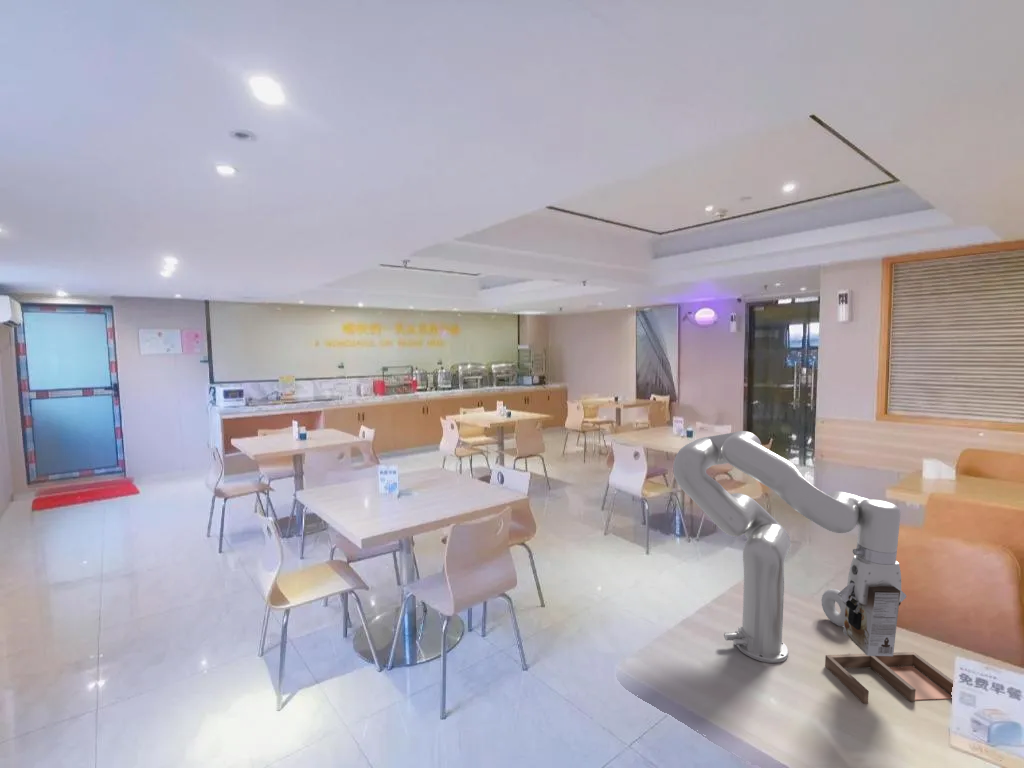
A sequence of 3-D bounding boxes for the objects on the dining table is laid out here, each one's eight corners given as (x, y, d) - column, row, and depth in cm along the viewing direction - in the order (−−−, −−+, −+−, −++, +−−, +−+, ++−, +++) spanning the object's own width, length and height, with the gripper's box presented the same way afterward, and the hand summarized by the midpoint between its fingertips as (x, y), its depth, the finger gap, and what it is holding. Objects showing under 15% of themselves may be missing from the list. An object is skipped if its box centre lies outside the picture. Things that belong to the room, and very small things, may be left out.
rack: (863, 703, 112) (864, 691, 112) (825, 666, 125) (825, 655, 125) (961, 699, 113) (962, 687, 113) (912, 663, 126) (913, 651, 126)
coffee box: (841, 632, 123) (847, 570, 121) (867, 633, 123) (873, 571, 121) (867, 656, 114) (873, 589, 112) (895, 657, 114) (902, 590, 112)
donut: (857, 633, 139) (858, 598, 139) (846, 634, 139) (848, 600, 138) (827, 614, 149) (829, 582, 148) (817, 615, 148) (819, 583, 148)
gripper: (851, 561, 112) (845, 636, 114) (925, 560, 113) (917, 635, 114) (829, 547, 119) (823, 617, 121) (898, 546, 120) (891, 616, 122)
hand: (869, 625), depth 118 cm, fingers closed on coffee box, 6 cm apart
